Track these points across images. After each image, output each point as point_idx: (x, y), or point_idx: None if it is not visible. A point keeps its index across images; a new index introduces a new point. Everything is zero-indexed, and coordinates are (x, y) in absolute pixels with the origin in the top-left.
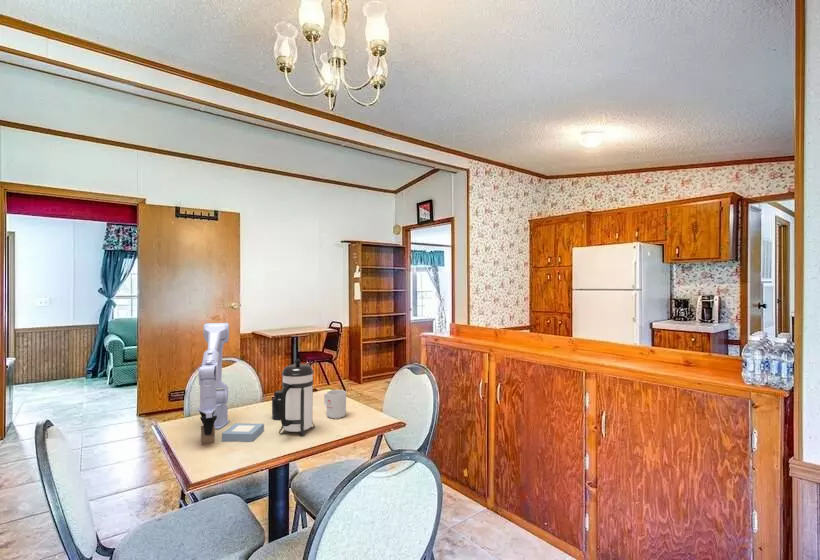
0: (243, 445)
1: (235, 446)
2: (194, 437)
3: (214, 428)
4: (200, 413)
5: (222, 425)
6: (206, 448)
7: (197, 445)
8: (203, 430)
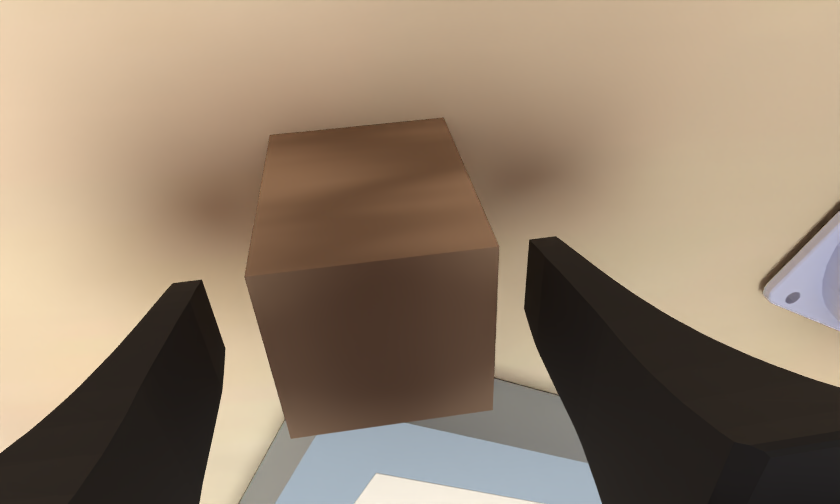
0: None
1: None
2: (669, 17)
3: (288, 426)
4: (711, 435)
5: (827, 317)
6: (124, 203)
7: (285, 82)
8: (254, 289)
